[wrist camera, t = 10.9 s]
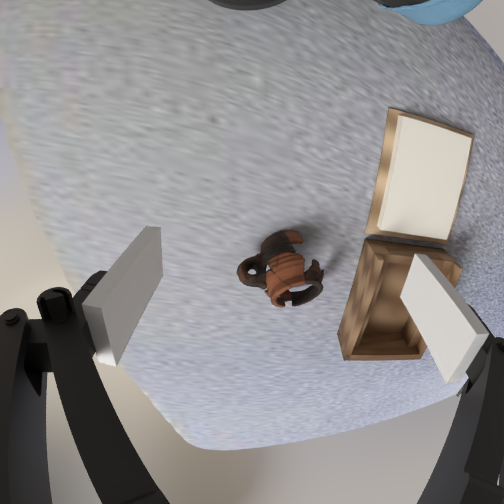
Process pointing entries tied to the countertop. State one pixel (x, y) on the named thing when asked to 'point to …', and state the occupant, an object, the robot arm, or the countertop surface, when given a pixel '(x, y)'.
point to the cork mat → (384, 171)
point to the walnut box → (386, 303)
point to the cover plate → (423, 179)
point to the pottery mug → (282, 271)
